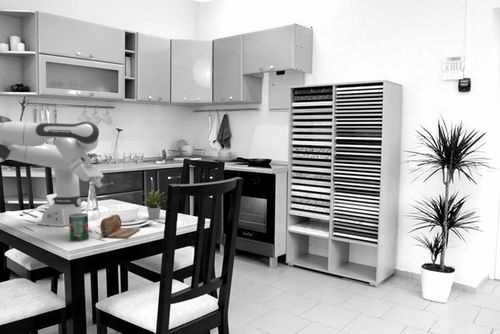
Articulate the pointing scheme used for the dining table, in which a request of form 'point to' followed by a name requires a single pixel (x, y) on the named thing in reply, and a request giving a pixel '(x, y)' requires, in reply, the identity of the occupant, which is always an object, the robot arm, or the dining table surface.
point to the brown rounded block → (110, 225)
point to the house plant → (153, 205)
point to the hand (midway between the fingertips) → (100, 186)
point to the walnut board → (124, 233)
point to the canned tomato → (78, 227)
